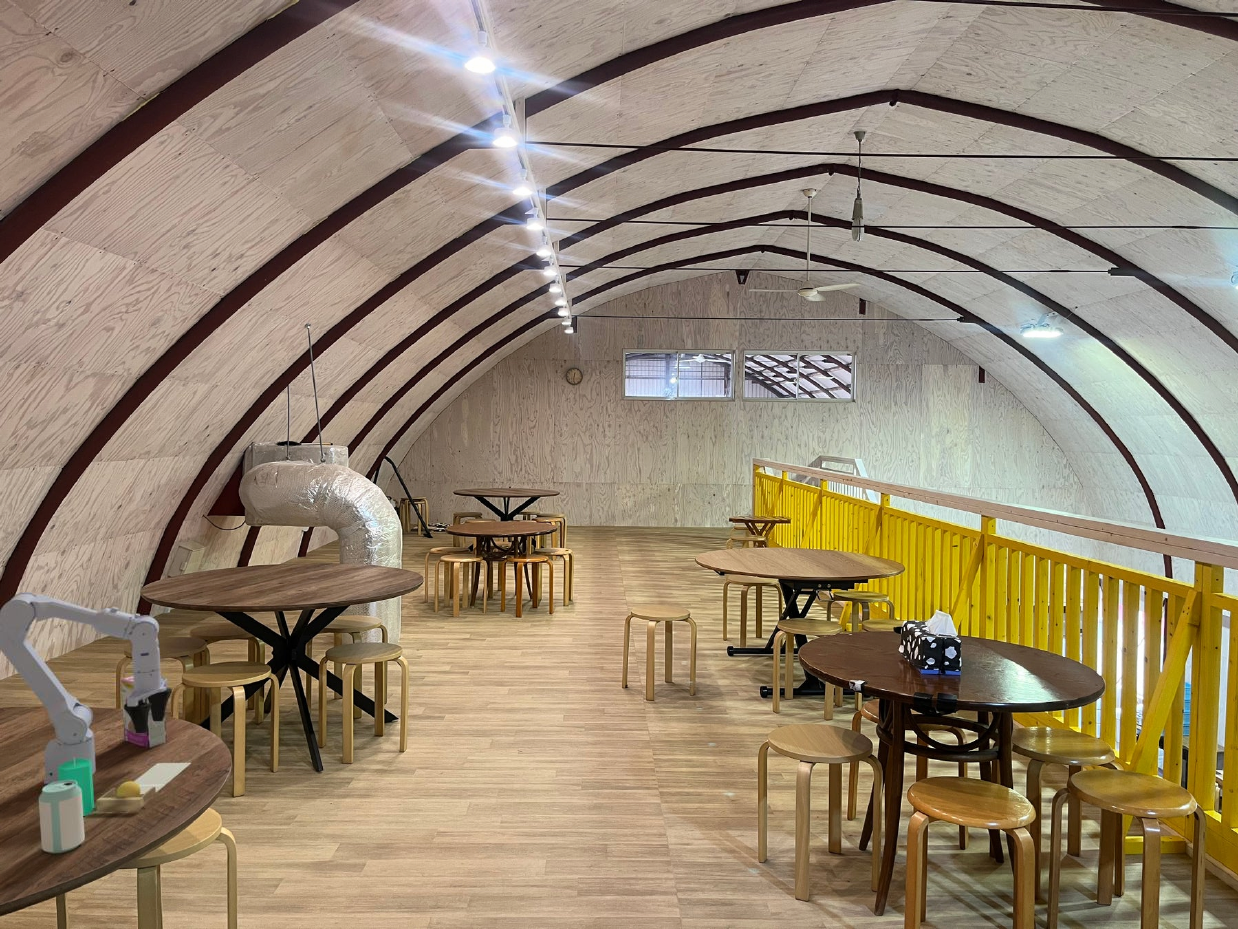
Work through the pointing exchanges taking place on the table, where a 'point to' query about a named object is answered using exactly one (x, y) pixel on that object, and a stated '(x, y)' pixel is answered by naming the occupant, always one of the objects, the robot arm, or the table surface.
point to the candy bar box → (155, 728)
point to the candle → (80, 780)
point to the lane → (159, 775)
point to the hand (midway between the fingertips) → (150, 726)
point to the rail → (123, 801)
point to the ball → (128, 790)
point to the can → (61, 816)
